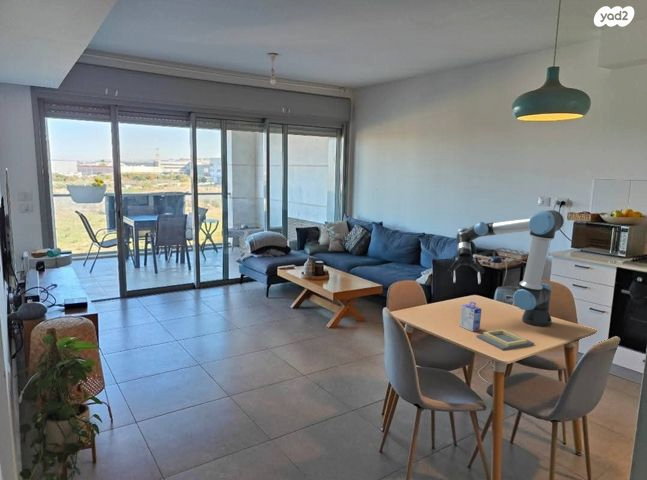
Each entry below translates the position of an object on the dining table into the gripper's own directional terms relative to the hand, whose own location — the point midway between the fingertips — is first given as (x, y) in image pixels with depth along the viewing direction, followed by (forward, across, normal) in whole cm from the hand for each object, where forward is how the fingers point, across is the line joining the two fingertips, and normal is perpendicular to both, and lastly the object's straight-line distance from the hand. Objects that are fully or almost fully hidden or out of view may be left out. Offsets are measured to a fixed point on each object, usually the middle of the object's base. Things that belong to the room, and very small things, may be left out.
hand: (467, 282), depth 249 cm
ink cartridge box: (+26, -1, -7) cm, 26 cm away
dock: (+36, -15, +5) cm, 40 cm away
